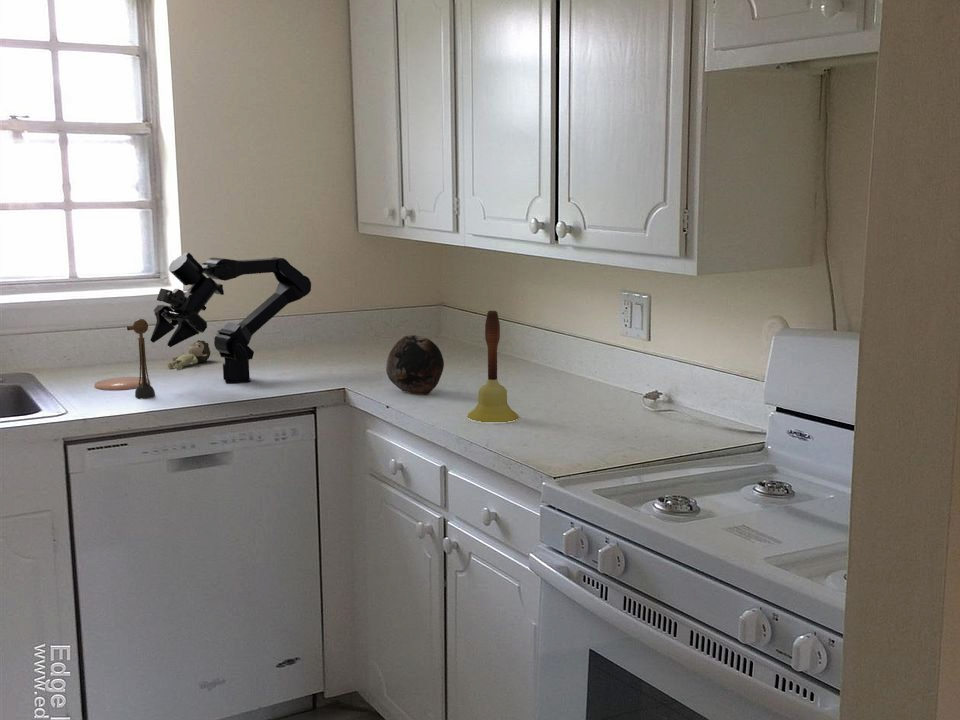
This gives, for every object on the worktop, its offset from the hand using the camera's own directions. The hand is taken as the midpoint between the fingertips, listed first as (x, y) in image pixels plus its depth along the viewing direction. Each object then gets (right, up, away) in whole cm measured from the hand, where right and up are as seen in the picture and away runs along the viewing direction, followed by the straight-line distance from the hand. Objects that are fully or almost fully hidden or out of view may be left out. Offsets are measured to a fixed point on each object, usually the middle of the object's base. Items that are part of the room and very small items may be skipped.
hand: (160, 343), depth 264 cm
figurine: (-3, -6, +40) cm, 40 cm away
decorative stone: (+66, -13, +3) cm, 67 cm away
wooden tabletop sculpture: (-4, -14, -1) cm, 14 cm away
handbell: (+85, -18, -24) cm, 90 cm away
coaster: (-14, -11, +13) cm, 22 cm away
